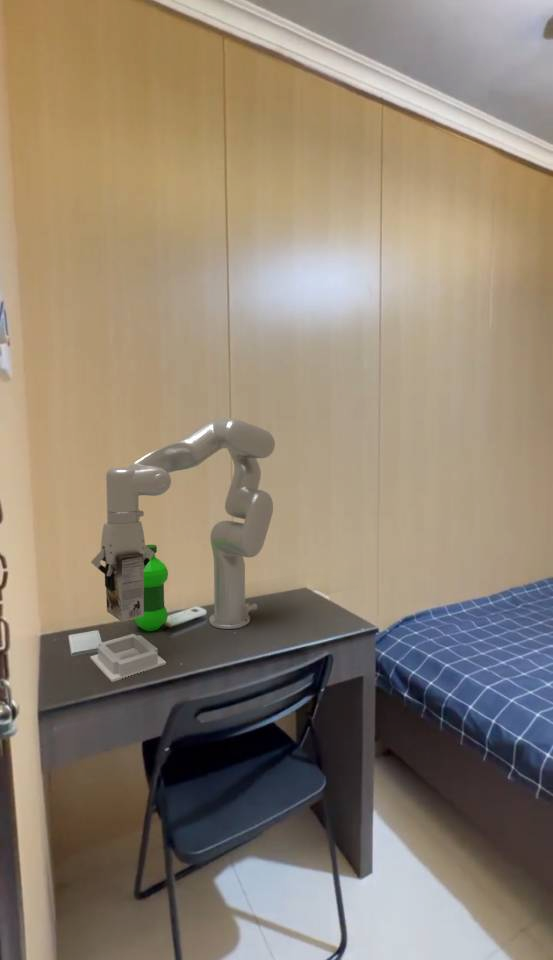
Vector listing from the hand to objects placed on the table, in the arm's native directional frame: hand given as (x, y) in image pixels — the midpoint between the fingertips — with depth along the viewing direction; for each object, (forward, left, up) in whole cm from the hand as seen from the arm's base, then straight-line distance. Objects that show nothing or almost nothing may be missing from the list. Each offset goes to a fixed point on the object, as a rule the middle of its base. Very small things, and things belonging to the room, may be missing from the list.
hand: (124, 586), depth 123 cm
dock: (0, 0, -20) cm, 20 cm away
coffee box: (0, 0, -7) cm, 7 cm away
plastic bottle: (-14, -16, -20) cm, 29 cm away
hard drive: (+5, -17, -21) cm, 27 cm away
